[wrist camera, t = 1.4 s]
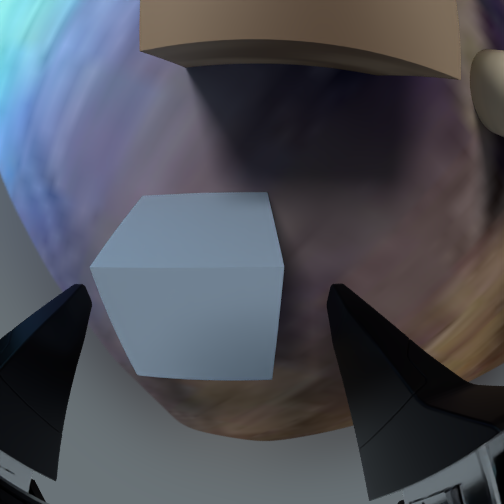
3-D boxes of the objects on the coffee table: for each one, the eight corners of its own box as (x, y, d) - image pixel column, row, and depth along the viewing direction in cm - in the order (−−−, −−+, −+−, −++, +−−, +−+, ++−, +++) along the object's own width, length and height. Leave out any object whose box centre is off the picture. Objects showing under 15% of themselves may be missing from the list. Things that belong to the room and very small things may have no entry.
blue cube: (267, 191, 11) (284, 266, 7) (263, 290, 14) (271, 379, 9) (143, 195, 11) (90, 267, 6) (161, 290, 13) (137, 375, 9)
